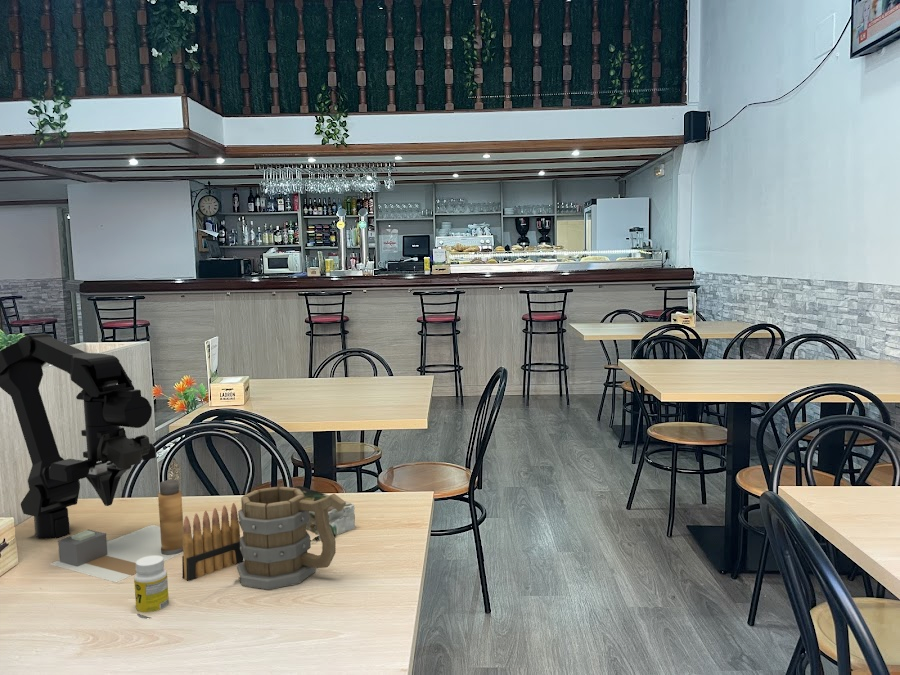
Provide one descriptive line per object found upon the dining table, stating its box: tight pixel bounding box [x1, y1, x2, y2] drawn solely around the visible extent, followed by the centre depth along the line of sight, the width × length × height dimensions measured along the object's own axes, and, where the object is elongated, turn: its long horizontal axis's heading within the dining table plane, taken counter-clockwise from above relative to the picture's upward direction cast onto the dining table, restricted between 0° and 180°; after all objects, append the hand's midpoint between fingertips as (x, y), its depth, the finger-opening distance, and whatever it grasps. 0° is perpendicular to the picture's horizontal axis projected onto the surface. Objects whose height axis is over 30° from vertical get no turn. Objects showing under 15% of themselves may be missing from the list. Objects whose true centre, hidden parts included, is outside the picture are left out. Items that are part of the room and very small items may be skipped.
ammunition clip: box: [181, 502, 244, 582], centre depth 124 cm, size 11×2×12 cm, turn 137°
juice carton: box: [292, 485, 356, 542], centre depth 150 cm, size 20×10×6 cm, turn 47°
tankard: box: [236, 486, 347, 591], centre depth 124 cm, size 20×13×15 cm, turn 69°
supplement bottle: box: [133, 555, 170, 620], centre depth 112 cm, size 5×5×8 cm
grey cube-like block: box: [57, 529, 108, 567], centre depth 131 cm, size 5×6×5 cm
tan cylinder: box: [157, 479, 184, 555], centre depth 133 cm, size 4×4×13 cm
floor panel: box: [49, 524, 193, 583], centre depth 134 cm, size 18×22×1 cm
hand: (108, 505), depth 135 cm, fingers closed
